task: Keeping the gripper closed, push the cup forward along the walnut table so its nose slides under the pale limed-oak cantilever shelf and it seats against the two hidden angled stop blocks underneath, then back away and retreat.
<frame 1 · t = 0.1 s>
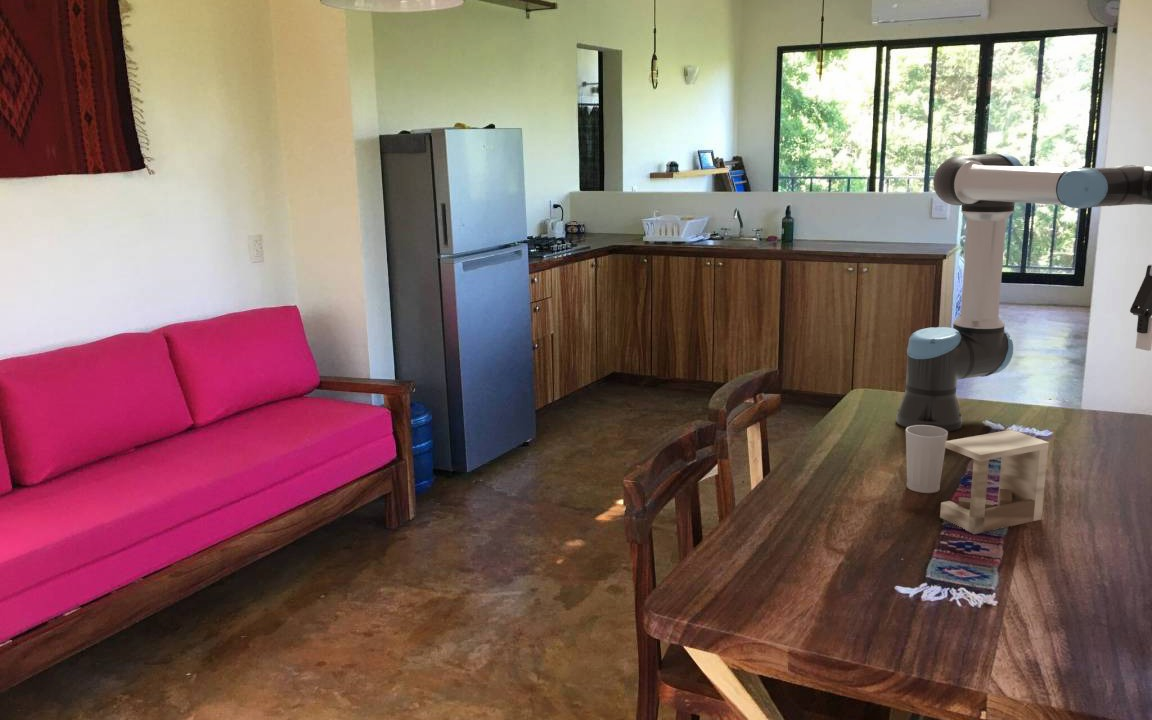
cup: (922, 488, 190), on the table
shelf: (975, 511, 177), on the table
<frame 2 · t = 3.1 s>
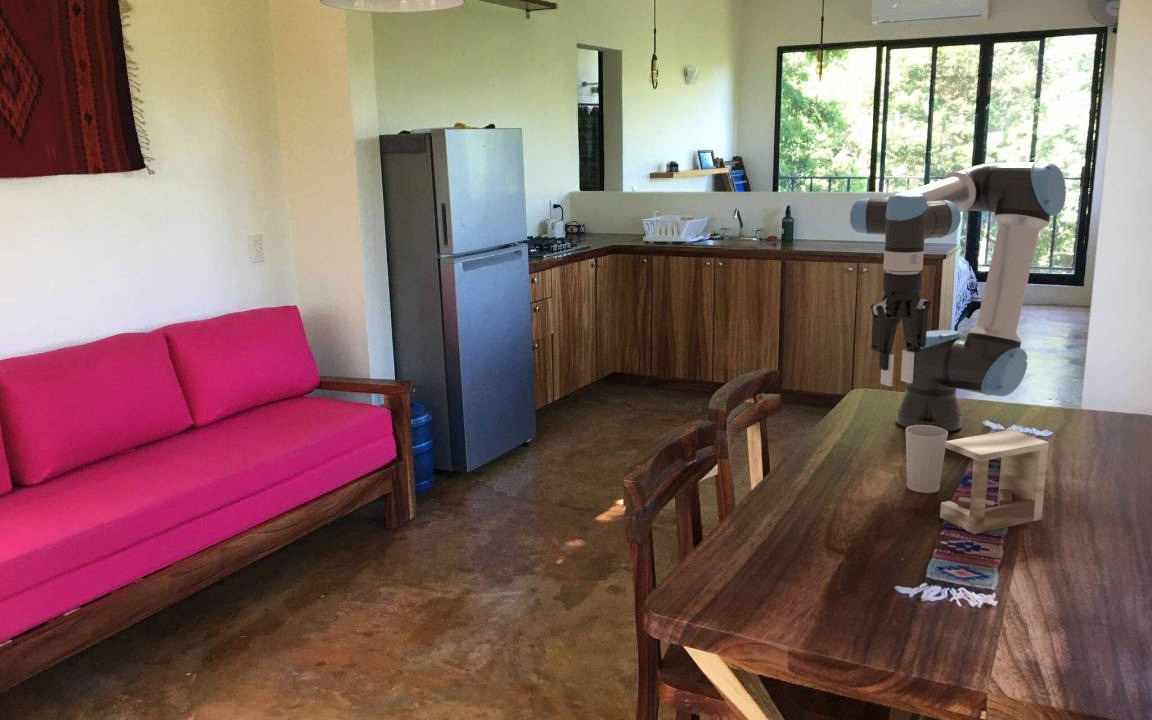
hand: (896, 382, 194), 20 cm above the table, fingers open, 4 cm apart
nothing on the table moved.
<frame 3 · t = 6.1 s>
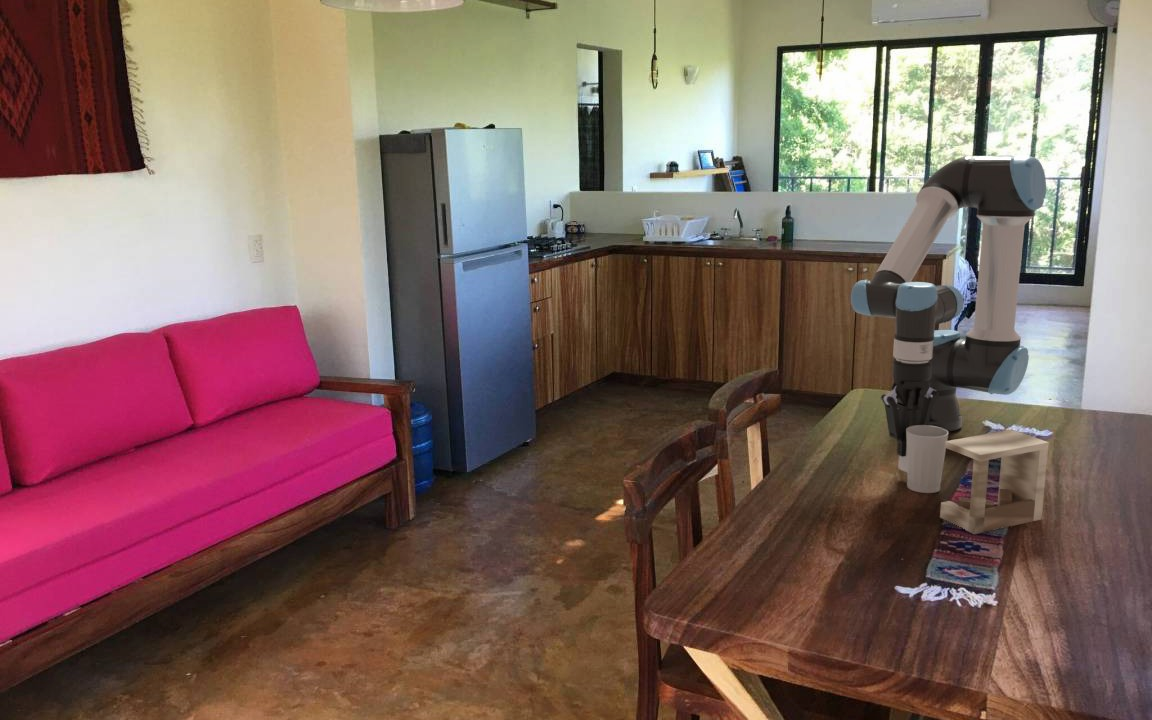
hand: (905, 469, 194), 2 cm above the table, fingers closed
cup: (923, 488, 190), on the table, touching gripper
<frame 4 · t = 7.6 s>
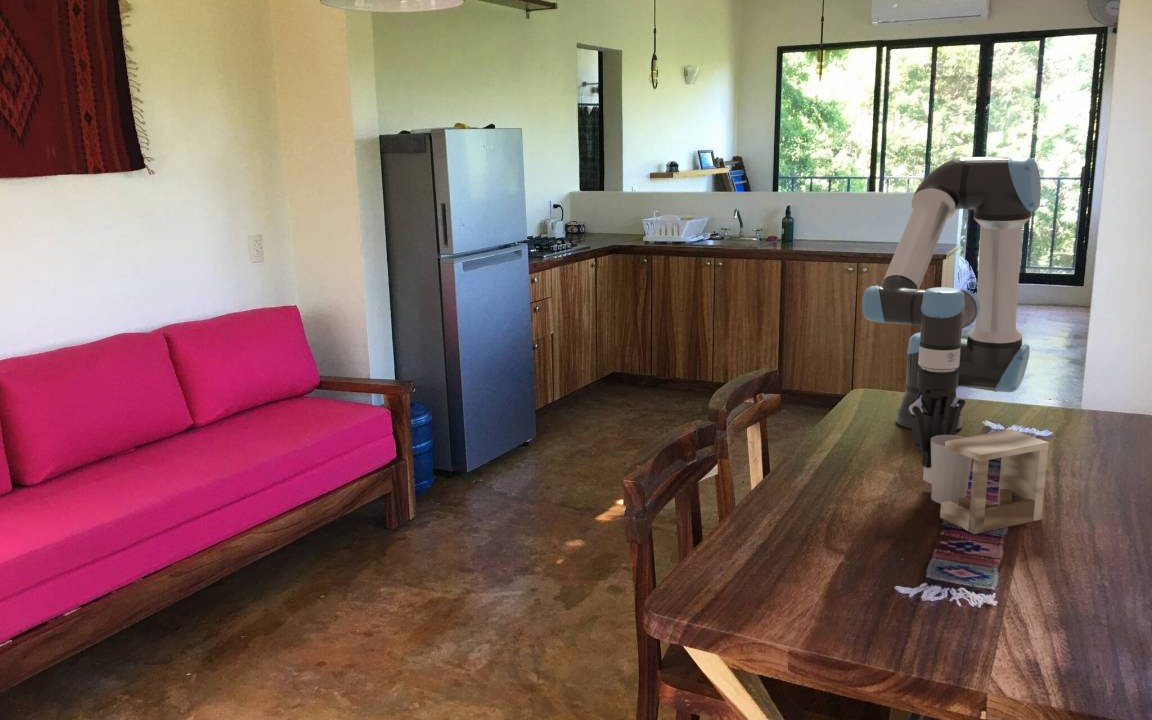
hand: (930, 481, 188), 2 cm above the table, fingers closed
cup: (948, 500, 183), on the table, touching gripper
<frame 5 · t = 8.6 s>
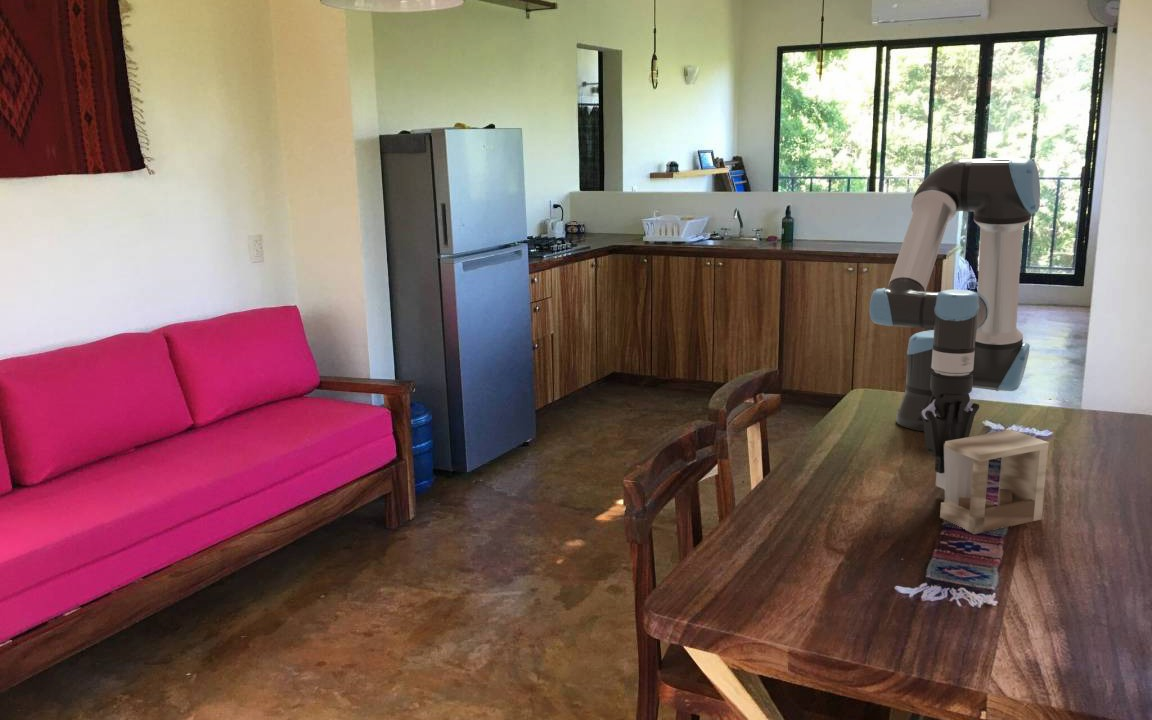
hand: (943, 487, 184), 2 cm above the table, fingers closed
cup: (961, 506, 180), on the table, touching gripper
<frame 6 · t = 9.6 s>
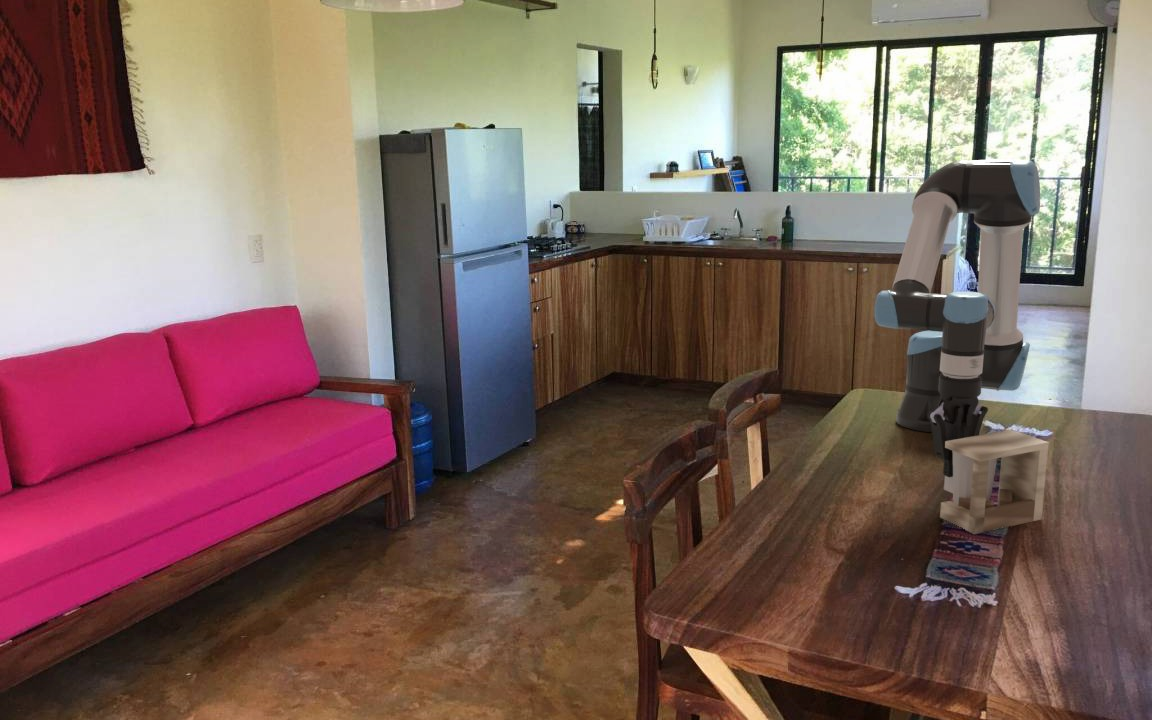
hand: (951, 491, 182), 2 cm above the table, fingers closed
cup: (970, 510, 178), on the table, touching gripper
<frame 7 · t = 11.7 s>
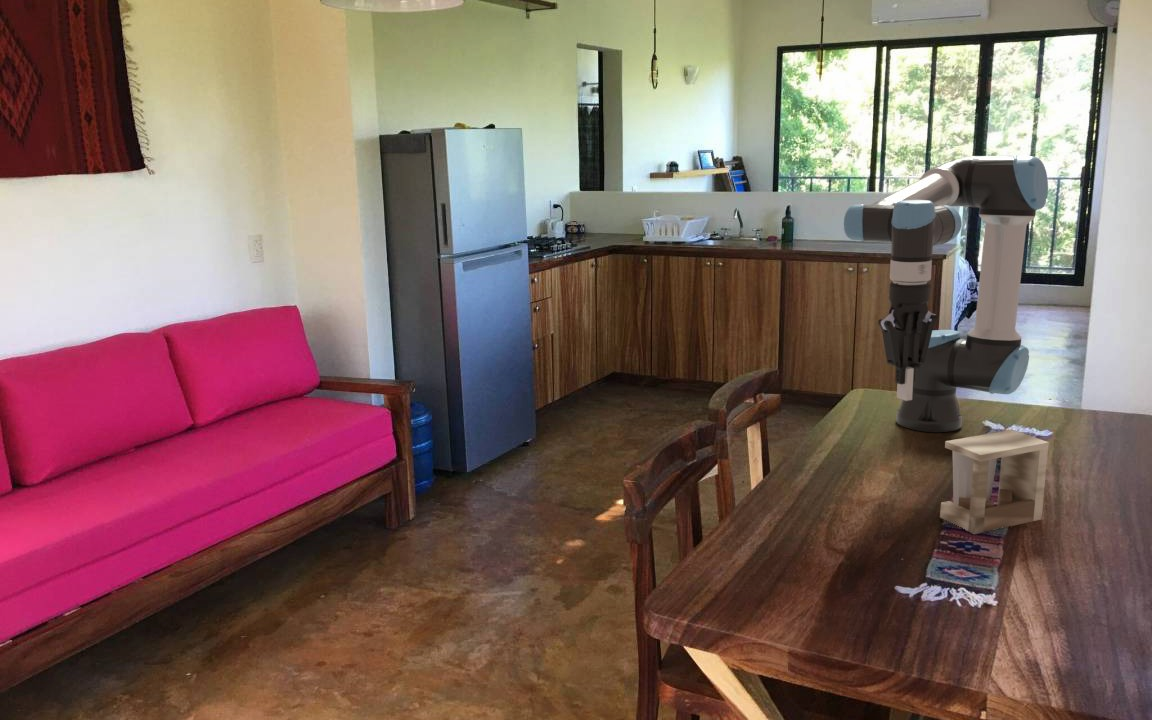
hand: (904, 398, 186), 19 cm above the table, fingers closed
cup: (970, 510, 178), on the table
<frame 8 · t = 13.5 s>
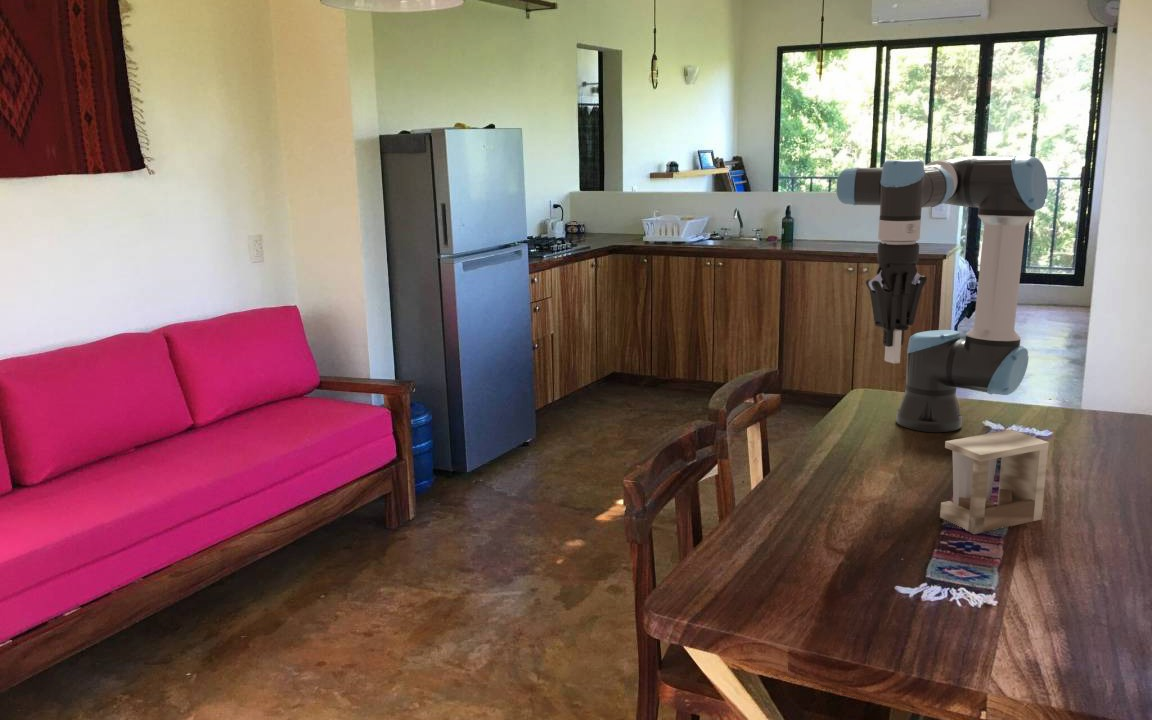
hand: (892, 361, 184), 26 cm above the table, fingers closed
nothing on the table moved.
at the end: cup 0.4 cm off-centre on the shelf, point 0.0 cm above the shelf's base; cup tilted 0°; cup moved 13.1 cm from its start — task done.
